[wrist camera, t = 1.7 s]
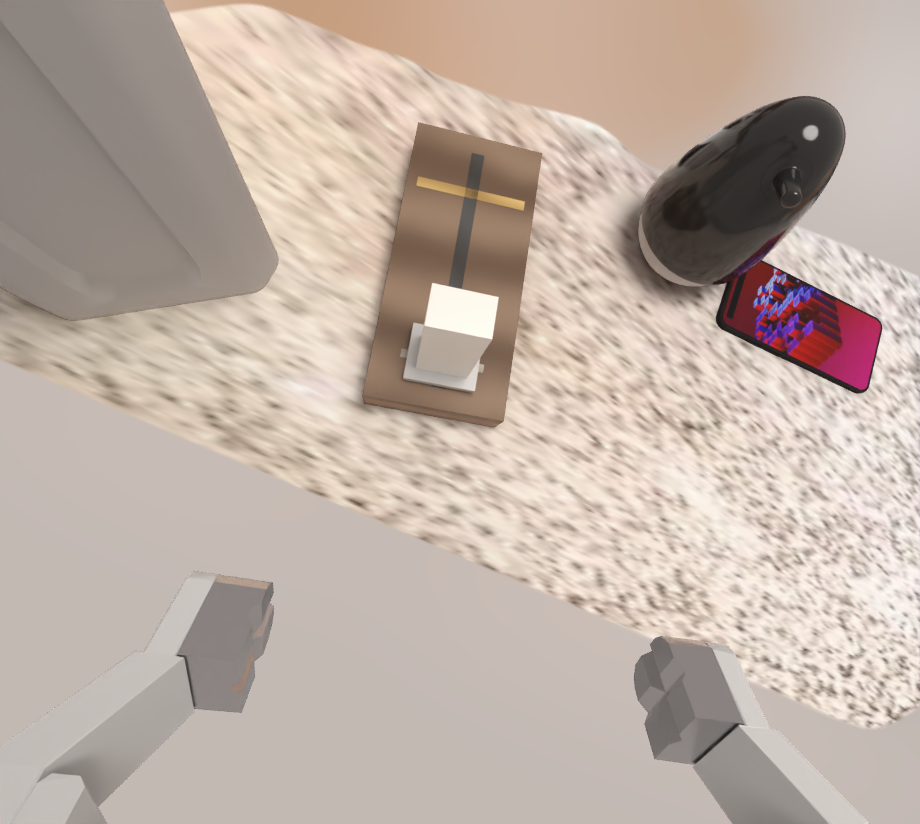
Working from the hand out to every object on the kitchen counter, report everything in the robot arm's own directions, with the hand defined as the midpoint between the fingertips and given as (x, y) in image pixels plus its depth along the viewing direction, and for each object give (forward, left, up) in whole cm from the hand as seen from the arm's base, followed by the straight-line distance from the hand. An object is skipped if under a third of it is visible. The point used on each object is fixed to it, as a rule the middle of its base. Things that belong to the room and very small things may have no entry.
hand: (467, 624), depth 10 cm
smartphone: (+24, +30, -26) cm, 46 cm away
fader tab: (-3, +12, -22) cm, 25 cm away
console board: (-5, +19, -26) cm, 32 cm away
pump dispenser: (+11, +31, -26) cm, 42 cm away
